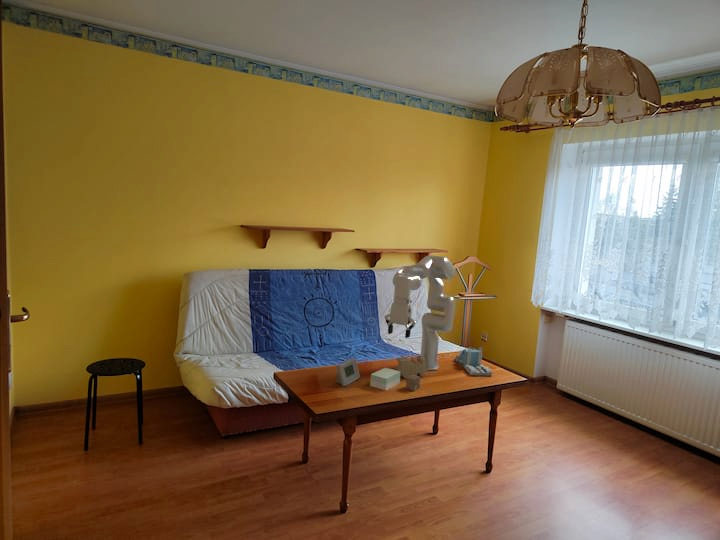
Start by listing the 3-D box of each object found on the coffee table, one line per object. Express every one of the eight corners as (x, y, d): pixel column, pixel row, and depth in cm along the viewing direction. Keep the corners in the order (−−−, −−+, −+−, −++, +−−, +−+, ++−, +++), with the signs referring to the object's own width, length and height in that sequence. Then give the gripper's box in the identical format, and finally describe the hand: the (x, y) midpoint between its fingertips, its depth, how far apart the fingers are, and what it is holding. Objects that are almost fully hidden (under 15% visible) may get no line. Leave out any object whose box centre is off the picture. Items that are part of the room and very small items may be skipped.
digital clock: (343, 388, 227) (344, 367, 226) (330, 382, 233) (331, 362, 232) (364, 380, 239) (366, 360, 238) (351, 375, 245) (352, 356, 244)
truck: (472, 360, 286) (474, 336, 284) (492, 377, 257) (494, 350, 256) (453, 360, 284) (455, 336, 282) (471, 376, 256) (473, 350, 254)
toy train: (427, 376, 251) (429, 358, 250) (400, 379, 245) (401, 360, 243) (422, 373, 256) (424, 355, 255) (395, 375, 250) (396, 357, 248)
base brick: (384, 378, 243) (385, 367, 243) (399, 382, 239) (400, 371, 238) (370, 385, 232) (371, 374, 231) (385, 390, 227) (386, 378, 226)
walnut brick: (410, 385, 236) (411, 374, 235) (419, 388, 233) (420, 376, 232) (405, 388, 232) (406, 376, 231) (414, 391, 229) (415, 379, 228)
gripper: (420, 302, 223) (418, 337, 225) (390, 297, 233) (387, 330, 235) (413, 304, 217) (410, 340, 219) (382, 299, 227) (379, 333, 229)
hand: (398, 335), depth 227 cm, fingers open, 9 cm apart
